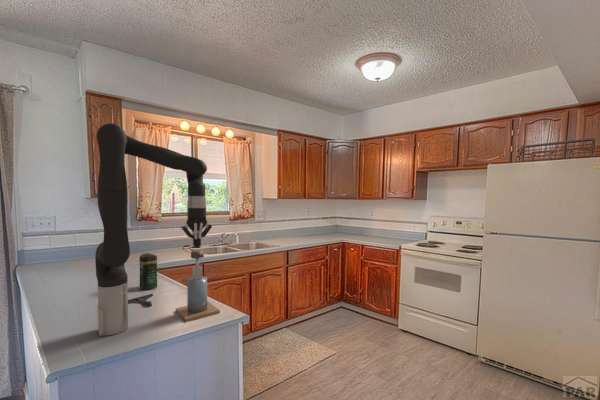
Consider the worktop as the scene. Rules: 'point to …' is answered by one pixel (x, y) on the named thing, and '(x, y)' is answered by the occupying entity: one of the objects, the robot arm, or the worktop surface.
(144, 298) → the bracket
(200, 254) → the grey dome cap
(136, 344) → the worktop surface
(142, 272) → the coffee jar
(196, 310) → the soap dispenser
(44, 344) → the worktop surface
